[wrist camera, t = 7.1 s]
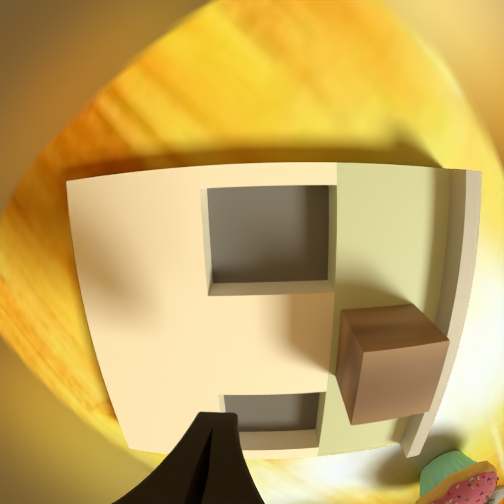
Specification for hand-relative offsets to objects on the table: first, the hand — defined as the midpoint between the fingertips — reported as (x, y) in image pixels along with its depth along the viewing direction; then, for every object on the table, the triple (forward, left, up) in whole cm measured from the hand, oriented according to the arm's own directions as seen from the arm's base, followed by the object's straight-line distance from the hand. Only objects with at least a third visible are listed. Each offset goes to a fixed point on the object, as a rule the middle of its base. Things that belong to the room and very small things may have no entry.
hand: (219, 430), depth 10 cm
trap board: (0, -2, -8) cm, 8 cm away
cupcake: (-17, -19, -8) cm, 26 cm away
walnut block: (0, -7, -6) cm, 9 cm away
